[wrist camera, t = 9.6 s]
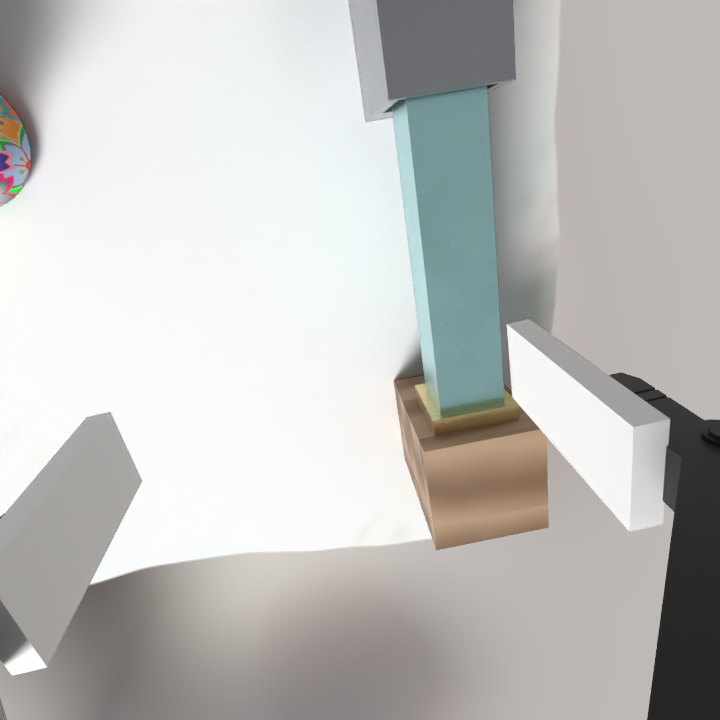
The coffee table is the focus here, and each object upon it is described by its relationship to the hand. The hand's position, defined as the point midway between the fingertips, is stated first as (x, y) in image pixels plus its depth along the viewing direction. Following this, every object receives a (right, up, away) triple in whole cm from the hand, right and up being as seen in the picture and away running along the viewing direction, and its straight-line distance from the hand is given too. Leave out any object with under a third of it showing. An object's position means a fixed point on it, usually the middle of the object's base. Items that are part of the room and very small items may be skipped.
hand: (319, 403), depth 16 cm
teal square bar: (+7, +7, +18) cm, 21 cm away
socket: (+9, -3, +27) cm, 29 cm away
